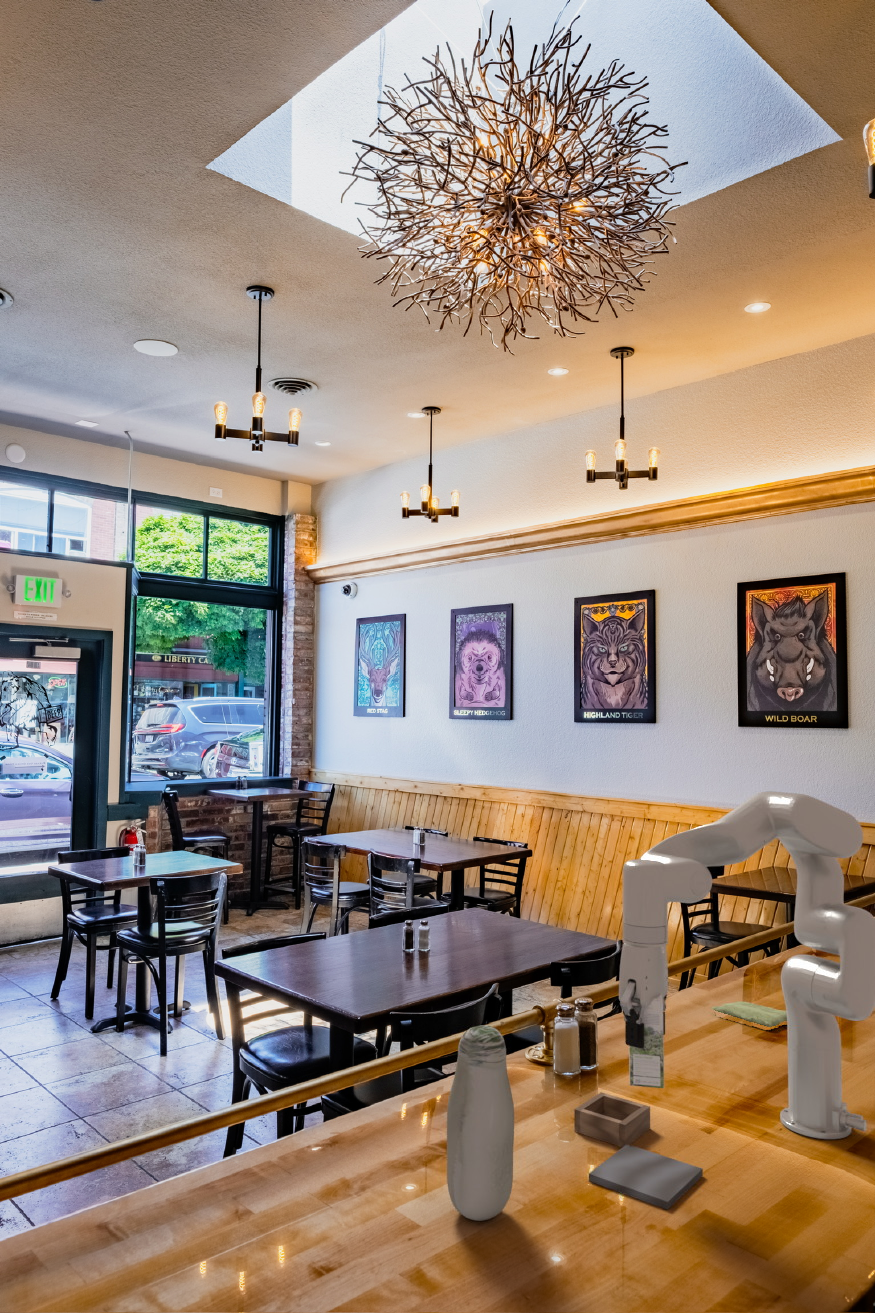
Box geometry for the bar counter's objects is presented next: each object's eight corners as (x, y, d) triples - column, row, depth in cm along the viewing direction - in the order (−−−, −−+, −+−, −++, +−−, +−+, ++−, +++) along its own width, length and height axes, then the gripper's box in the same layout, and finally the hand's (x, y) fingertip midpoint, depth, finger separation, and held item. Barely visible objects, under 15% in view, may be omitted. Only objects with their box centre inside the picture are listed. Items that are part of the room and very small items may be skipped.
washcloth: (738, 1008, 247) (738, 996, 248) (797, 1025, 233) (797, 1012, 234) (708, 1016, 239) (708, 1004, 240) (768, 1035, 225) (768, 1022, 226)
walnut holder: (650, 1128, 171) (650, 1106, 171) (625, 1148, 162) (625, 1125, 163) (601, 1113, 177) (601, 1092, 177) (574, 1131, 169) (574, 1109, 169)
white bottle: (493, 1239, 133) (495, 1043, 135) (434, 1218, 138) (437, 1030, 140) (523, 1209, 141) (524, 1025, 143) (467, 1191, 147) (469, 1014, 149)
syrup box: (663, 1078, 155) (662, 990, 156) (664, 1090, 149) (662, 998, 151) (629, 1075, 156) (628, 988, 158) (629, 1087, 150) (627, 996, 152)
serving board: (702, 1176, 153) (702, 1168, 153) (667, 1210, 142) (667, 1202, 142) (627, 1151, 161) (627, 1144, 161) (588, 1181, 150) (588, 1173, 150)
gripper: (647, 922, 164) (647, 1022, 162) (601, 939, 150) (601, 1048, 149) (686, 928, 159) (687, 1032, 158) (642, 946, 146) (643, 1059, 144)
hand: (645, 1039), depth 153 cm, fingers closed on syrup box, 7 cm apart
